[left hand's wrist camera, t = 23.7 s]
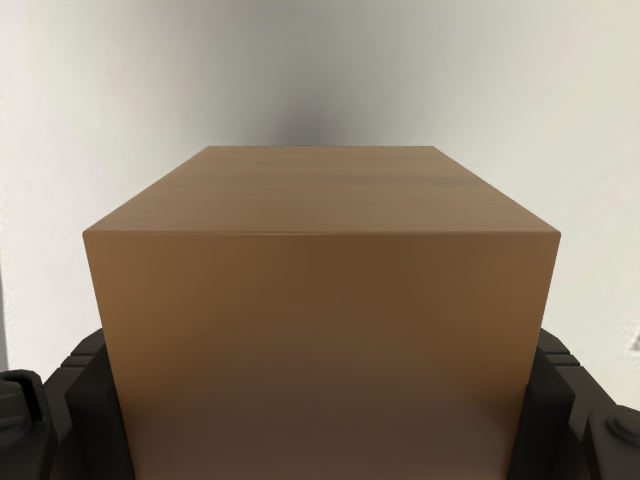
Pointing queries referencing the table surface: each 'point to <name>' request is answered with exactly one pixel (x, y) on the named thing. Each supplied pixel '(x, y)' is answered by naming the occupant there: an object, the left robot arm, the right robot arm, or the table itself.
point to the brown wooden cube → (321, 315)
